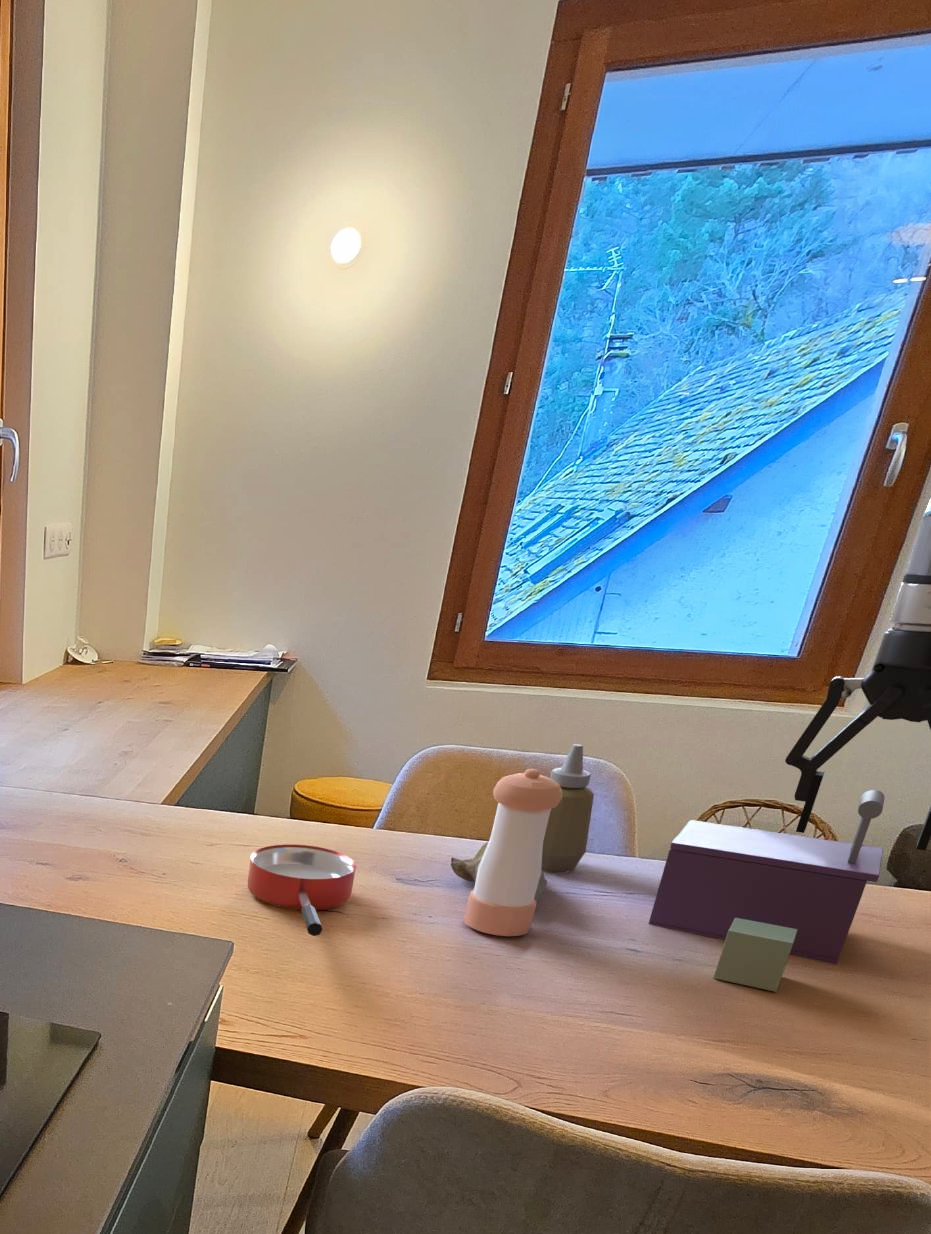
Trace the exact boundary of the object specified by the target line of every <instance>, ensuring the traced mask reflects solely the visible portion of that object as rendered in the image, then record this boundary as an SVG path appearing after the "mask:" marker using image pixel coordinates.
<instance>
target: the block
mask: <svg viewBox="0 0 931 1234" xmlns="http://www.w3.org/2000/svg"><path fill="white" fill-rule="evenodd" d="M796 933H797V929H793V928H788V927H782V926H777V925H772V924H767V923H761V922H756V921H751V920H745V919H740V918H735V919H734V921H733V923H732V925H731V927H730V929H729V931H728V933H727V937H726V940H725V941H724V943H723V946H722V950H721V953H720V956H719V959H718V961H717V962H718V963H717V965H716V969H715V971H714V974H713V979H714V980H720V981H724V982H728V983H734V984H737V985H741V986H742V985H743V986H747V987H752V988H757V989H761V990H766V991H769V992H775V993H776V992H777V991H778V988H779V986H780V983H781V980H782V977H783V974H784V972H785V968H786V965H787V963H788V960H789V956H790V955H789V954H790V951H791V948H792V945H793V942H794V939H795V936H796Z"/></svg>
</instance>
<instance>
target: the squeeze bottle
mask: <svg viewBox="0 0 931 1234" xmlns="http://www.w3.org/2000/svg"><path fill="white" fill-rule="evenodd" d="M591 776H592V774H591V773H590V771H587V770H585V769H584V745H583V744H581V743H573V744H572V746H571V748H570V749H569V751H568V754H567V756H566V758H565V760H564V762H563V764H562V765H561V767H555V768H553V769H551V772H550V776H549V778H550V779H552V780H554V781H556V782H557V783H558V784H559V785H560V787H561V789H562V799H561V801H560V802H559V804H558V805H557V806H556V807H555V808H552V809H551V811H550V815H549V819H548V823H547V828H546V832H545V836H544V840H543V848H542V864H541V869H542V871H543V872H546V873H555V874H556V873H557V874H558V873H559V874H560V873H562V874H563V873H564V874H565V873H569V872H572V871H574V870H575V868H576V867H577V865H578V864H579V862H580V861H581V859H582V858H583V857H584V855H585V854H586V851H587V845H588V839H589V830H590V825H591V817H592V811H593V810H592V809H593V803H594V795H595V794H594V792H593V791H592V790H591V789H590V788H589V787H588V786H589V785H590V781H591Z"/></svg>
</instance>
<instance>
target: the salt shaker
mask: <svg viewBox="0 0 931 1234" xmlns="http://www.w3.org/2000/svg"><path fill="white" fill-rule="evenodd" d="M492 792H493V798H494V800H495V801H496V802H497V803H498V804H497V808H496V812H495V816H494V820H493V825H492V829H491V833H490V837H489V840H488V841H487V842H488V845H487V847H486V849H485V852H484V854H483V857H482V859H481V862H480V864H479V867H478V871H477V877H476V882H474V887H473V889H472V890H471V891H470V892H469V894H468V899H467V904H466V907H465V912H464V917H463V921H464V923H465V924H466V925H467V926H468V927H469V928H471V929H474V930H476V931H478V932H481V933H485V934H488V935H494V936H499V937H518V936H519V937H520V936H523V935H526V934H528V933H530V930H531V927H532V923H533V919H534V915H535V912H536V907H537V901H535V899H534V896H535V893H536V889H537V886H538V882H539V879H540V875H541V864H542V848H543V840H544V836H545V832H546V828H547V823H548V819H549V815H550V811H551V809H552V808H555V807H556V806H557V805H558V804H559V802H560V801H561V799H562V789H561V787H560V785H559V784H558V783H557V782H556V781H554V780H552V779H550V777H548V776H546V775H544V774H543V775H542V774H541V773H540V770H537V769H536V768H528V769H526V770H525V771H524V772H518V773H517V772H516V773H513V774H509V775H506V776H502V777H501V778H500V780H498V781H497V782H496V784H495V786H494V788H493V790H492Z"/></svg>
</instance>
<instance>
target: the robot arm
mask: <svg viewBox="0 0 931 1234" xmlns="http://www.w3.org/2000/svg"><path fill="white" fill-rule="evenodd" d="M917 531H918V532H917V535H916V537H915V541H914V544H913V547H912V550H911V553H910V556H909V560H908V562H907V566H906V568H905V572H904V576H903V579H902V581H901V582H900V585H899V588H898V591H897V595H896V598H895V600H894V604H893V607H892V610H891V613H890V616H889V619H888V621H889V622H890V623H891V624H894V626H892V628H888V629H887V630H886V631H884V633H883V636H882V639H881V642H880V644H879V647H878V651H877V653H876V656H875V659H874V663H873V665H872V668H871V670H870V671H869V672H868V673H867V674H866V675H865V676H864V677H863V678H862V677H844V676H840V675H838V676H837V675H836V676H835V677H833V678H832V679H831V680H830V682H829V684H828V690H827V694H826V698H825V700H824V702H823V703H822V705H821V706H820V708H818V711H817V712H816V713H815V715H814V716H813V718H812V720H811V721H810V722H809V724H808V725H807V727H806V728H805V730H804V731H803V733H801V735H800V737H799V738H798V739H797V741H796V742H795V744H794V746H793V747H792V748H791V750H790V751H789V752H788V754H787V756H786V757H785V759H784V760H785V763H786V765H788V766H792V767H794V768H796V769H797V770H799V771H800V777H799V780H798V783H797V786H796V789H795V792H794V796H793V797H794V801H798V802H804V805H803V808H802V812H801V814H800V817H799V820H798V823H797V827H796V829H795V833H800V834H804V833H805V832H806V829H807V826H808V823H809V820H810V817H811V815H812V812H813V808H814V805H815V802H816V799H817V796H818V793H819V790H820V788H821V787H820V786H821V785H822V782H823V778H824V775H825V771H818V769H820V768H821V767H822V766H823V765H825V764H826V762H827V761H829V760H830V759H831V758H832V757H833V756H834V755H835V754H836V753H838V752H839V751H841V750H842V749H843V747H845V745H847V744H848V743H849V742H850V741H851V740H853V739H854V738H855V737H856V736H857V735H858V734H859V733H861V731H863V730H864V729H865V728H866V727H868V725H870V724H871V723H873V721H875V720H876V719H877V718H878V717H879V718H881V719H882V720H887V721H896V720H904V721H908V722H911V723H921V722H926V721H927V724H928V727H929V730H930V731H931V498H930V499H929V501H928V504H927V506H926V509H925V511H924V513H923V516H922V518H921V522H920V525H919V529H918V530H917ZM859 689H861V691H862V693H863V694H864V696H865V698H866V700H867V702H868V704H869V705H868V706H866V707H865V708H864V709H863V710H862V711H861V712H860V713H859V714H858V715H857V716H856V717H855V718H853V720H852V721H850V722H849V723H848V724H847V725H846V726H845V727H844V728H842V729H841V730H840V731H839V732H838V733H837V734H836V735H834V737H833V738H831V739H830V740H829V741H828V742H827V743H825V745H823V747H821V748H820V749H819V750H818V751H817V752H816V753H815V754H814V755H812V756H811V757H809V756H806V755H804V754H805V753H806V752H807V750H808V749H809V747H810V746H811V745H812V743H813V742H814V740H815V738H816V737H817V736H818V734H819V733H820V731H821V730H822V729H823V727H824V725H826V722H828V720H829V718H830V717H831V716H832V714H833V712H834V711H835V710H836V709H837V706H838V705H839V703H840V701H841V699H847V698H850V697H851V696H852V694H853V692H855V691H856V690H859ZM930 839H931V806H930V807H929V809H928V813H927V815H926V818H925V820H924V823H923V825H922V828H921V831H920V833H919V836H918V839H917V841H916V846H915V849H916V850H918V851H919V850H920V851H926V850H927V847H928V846H929V843H930Z"/></svg>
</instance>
